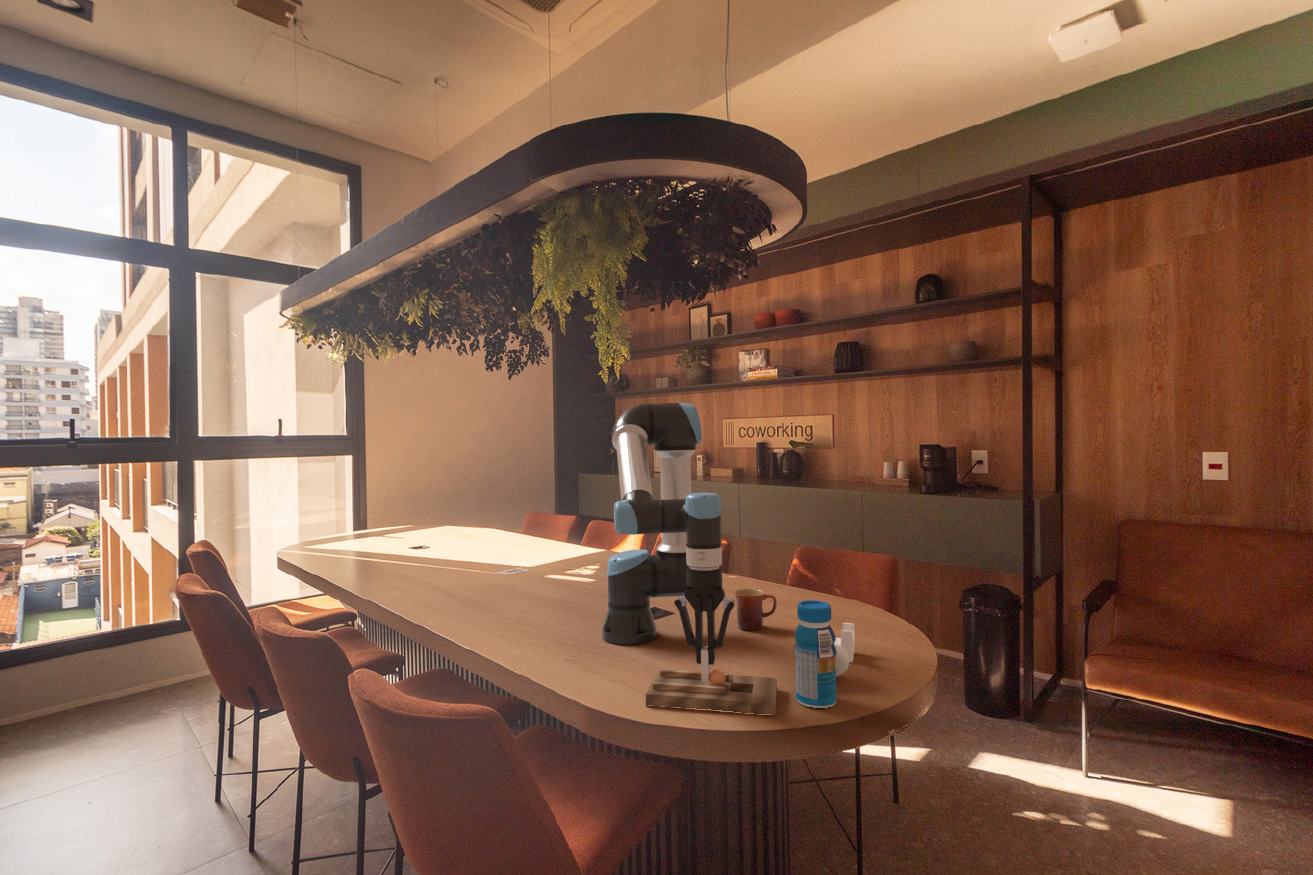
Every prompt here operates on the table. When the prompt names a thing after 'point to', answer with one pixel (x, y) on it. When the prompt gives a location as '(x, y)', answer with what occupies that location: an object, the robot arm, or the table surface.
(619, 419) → the robot arm
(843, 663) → the white knot
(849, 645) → the bracket
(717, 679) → the ball
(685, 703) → the lane board
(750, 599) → the mug
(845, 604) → the table surface
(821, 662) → the beverage bottle
